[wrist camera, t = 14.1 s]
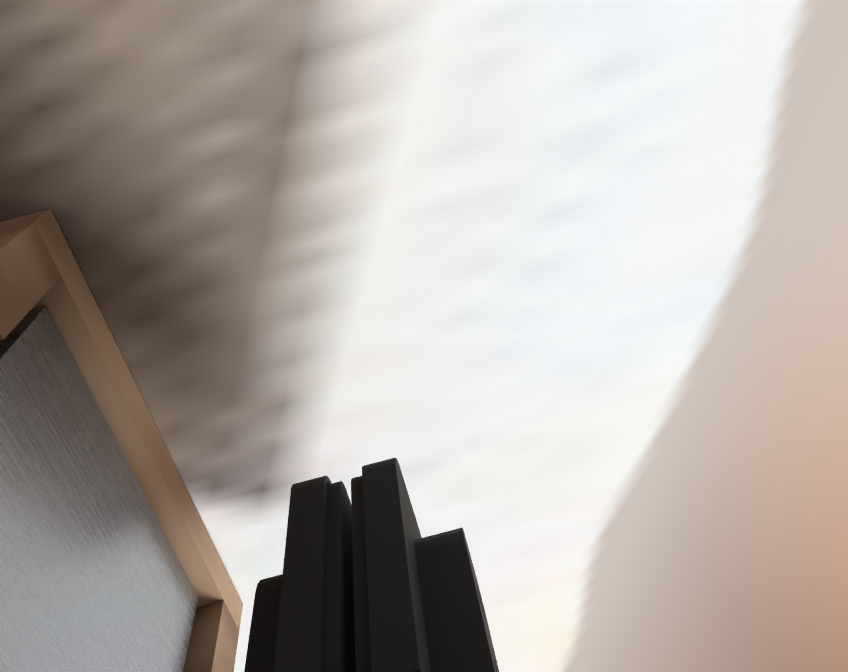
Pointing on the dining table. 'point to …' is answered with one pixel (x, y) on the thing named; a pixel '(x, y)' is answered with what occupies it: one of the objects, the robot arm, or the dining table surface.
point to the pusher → (77, 527)
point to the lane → (120, 419)
